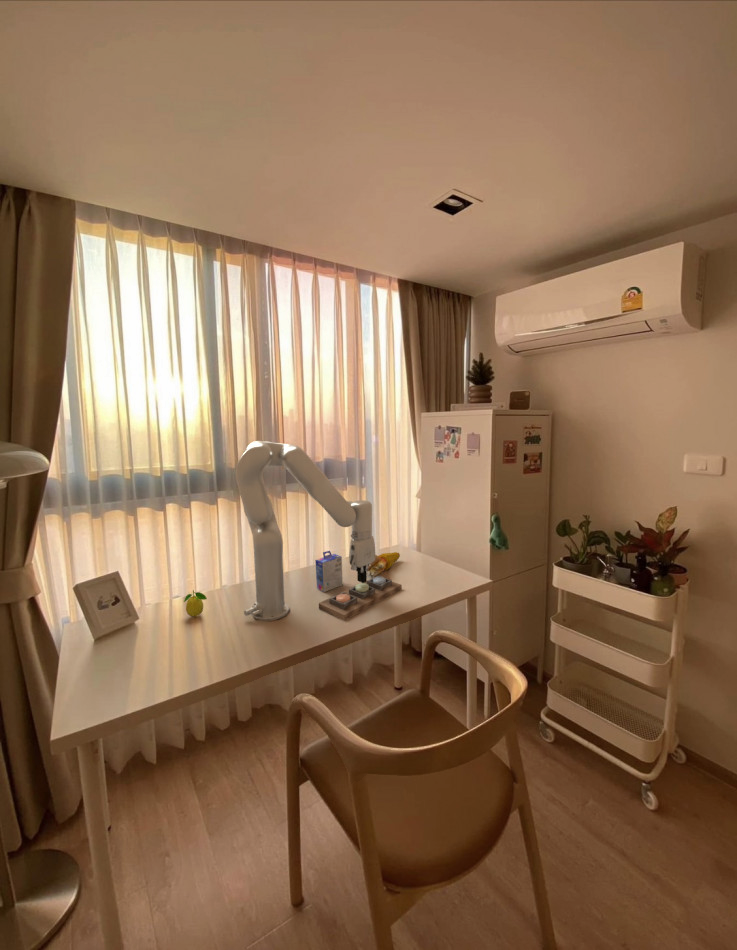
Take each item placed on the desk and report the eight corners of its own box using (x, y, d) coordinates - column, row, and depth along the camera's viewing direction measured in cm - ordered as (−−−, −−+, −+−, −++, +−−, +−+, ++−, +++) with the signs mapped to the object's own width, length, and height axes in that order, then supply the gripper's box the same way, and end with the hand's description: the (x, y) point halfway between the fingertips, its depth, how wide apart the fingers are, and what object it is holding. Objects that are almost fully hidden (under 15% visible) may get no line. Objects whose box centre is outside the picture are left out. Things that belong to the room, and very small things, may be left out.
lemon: (208, 617, 140) (206, 590, 139) (190, 623, 136) (188, 595, 135) (200, 610, 145) (198, 584, 144) (183, 616, 141) (181, 589, 140)
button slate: (380, 588, 157) (380, 583, 157) (370, 584, 160) (370, 579, 160) (388, 584, 161) (388, 579, 160) (378, 580, 164) (378, 576, 164)
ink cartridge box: (335, 581, 169) (334, 547, 167) (343, 585, 165) (342, 551, 163) (315, 588, 163) (314, 553, 160) (323, 592, 159) (322, 557, 156)
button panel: (344, 620, 137) (344, 610, 137) (318, 608, 146) (318, 598, 145) (401, 589, 161) (401, 580, 160) (376, 580, 170) (376, 571, 169)
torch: (398, 569, 191) (370, 581, 170) (386, 558, 195) (357, 569, 174) (407, 555, 189) (379, 566, 168) (394, 545, 192) (366, 554, 171)
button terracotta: (343, 607, 142) (343, 601, 142) (333, 602, 146) (333, 597, 145) (353, 602, 146) (353, 596, 146) (343, 597, 149) (343, 592, 149)
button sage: (362, 595, 150) (362, 590, 149) (352, 591, 153) (352, 586, 153) (371, 590, 153) (371, 585, 153) (361, 586, 157) (361, 582, 156)
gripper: (355, 541, 142) (355, 590, 145) (382, 531, 153) (382, 578, 156) (340, 536, 147) (340, 584, 150) (367, 528, 158) (367, 572, 161)
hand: (362, 581), depth 153 cm, fingers closed
